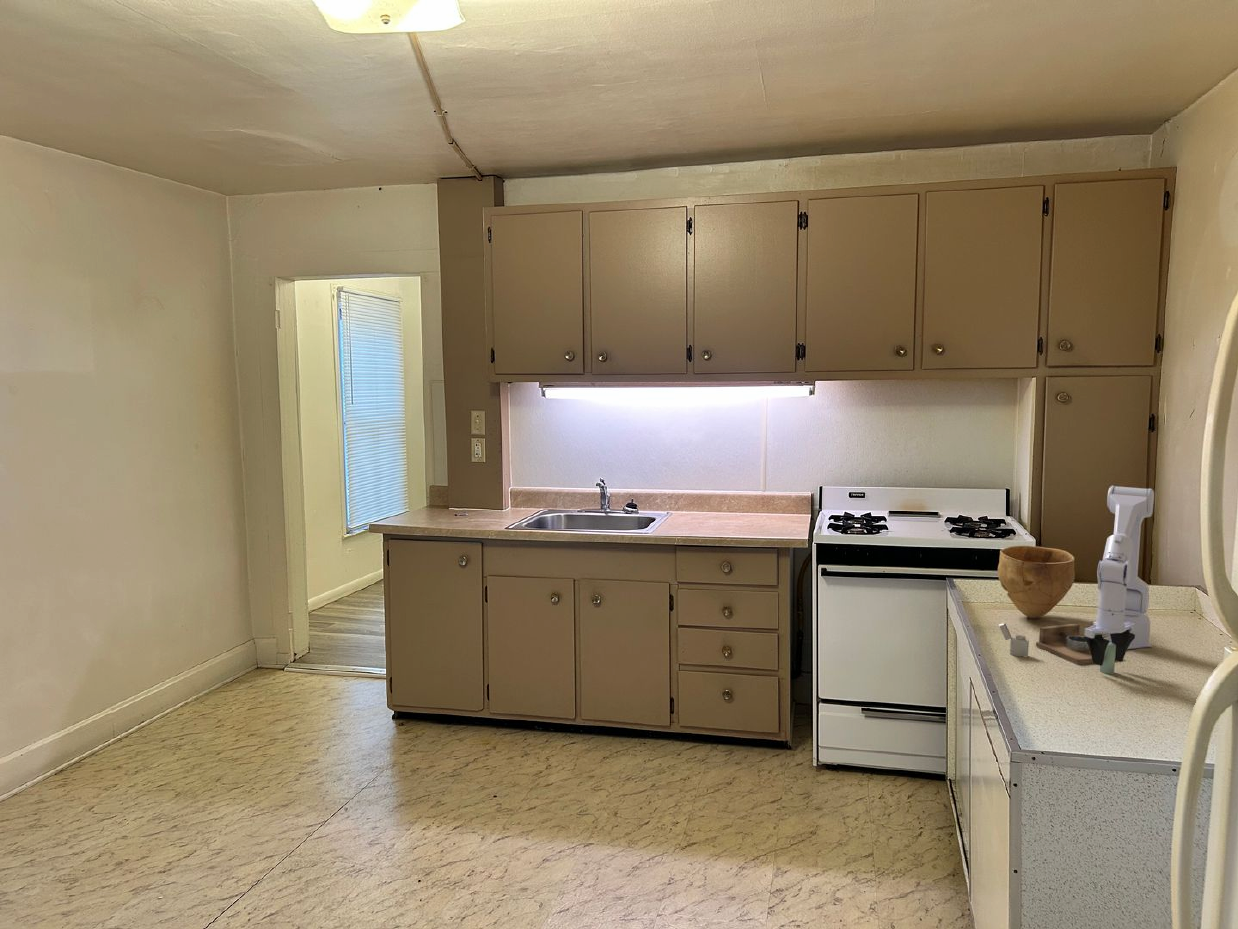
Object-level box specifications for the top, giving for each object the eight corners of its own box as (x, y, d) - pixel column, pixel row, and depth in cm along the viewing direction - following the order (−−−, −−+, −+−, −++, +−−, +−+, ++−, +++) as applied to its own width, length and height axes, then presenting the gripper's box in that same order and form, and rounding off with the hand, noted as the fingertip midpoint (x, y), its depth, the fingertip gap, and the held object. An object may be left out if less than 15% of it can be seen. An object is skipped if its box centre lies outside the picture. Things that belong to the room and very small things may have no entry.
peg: (1106, 669, 206) (1108, 641, 205) (1117, 673, 203) (1118, 645, 202) (1097, 670, 205) (1098, 643, 204) (1107, 674, 202) (1109, 647, 201)
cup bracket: (1078, 641, 226) (1079, 623, 225) (1121, 659, 212) (1123, 639, 212) (1035, 646, 222) (1036, 627, 221) (1077, 664, 209) (1078, 644, 208)
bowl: (1086, 629, 236) (1090, 560, 234) (1014, 629, 237) (1018, 560, 234) (1049, 607, 257) (1053, 544, 255) (983, 607, 257) (986, 544, 255)
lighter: (1028, 655, 215) (1029, 625, 214) (1027, 657, 214) (1029, 627, 213) (998, 650, 219) (999, 621, 218) (997, 652, 217) (999, 623, 217)
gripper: (1117, 601, 208) (1113, 653, 210) (1075, 607, 203) (1071, 660, 204) (1144, 608, 202) (1140, 662, 203) (1101, 615, 196) (1097, 670, 198)
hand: (1107, 662), depth 203 cm, fingers open, 6 cm apart
